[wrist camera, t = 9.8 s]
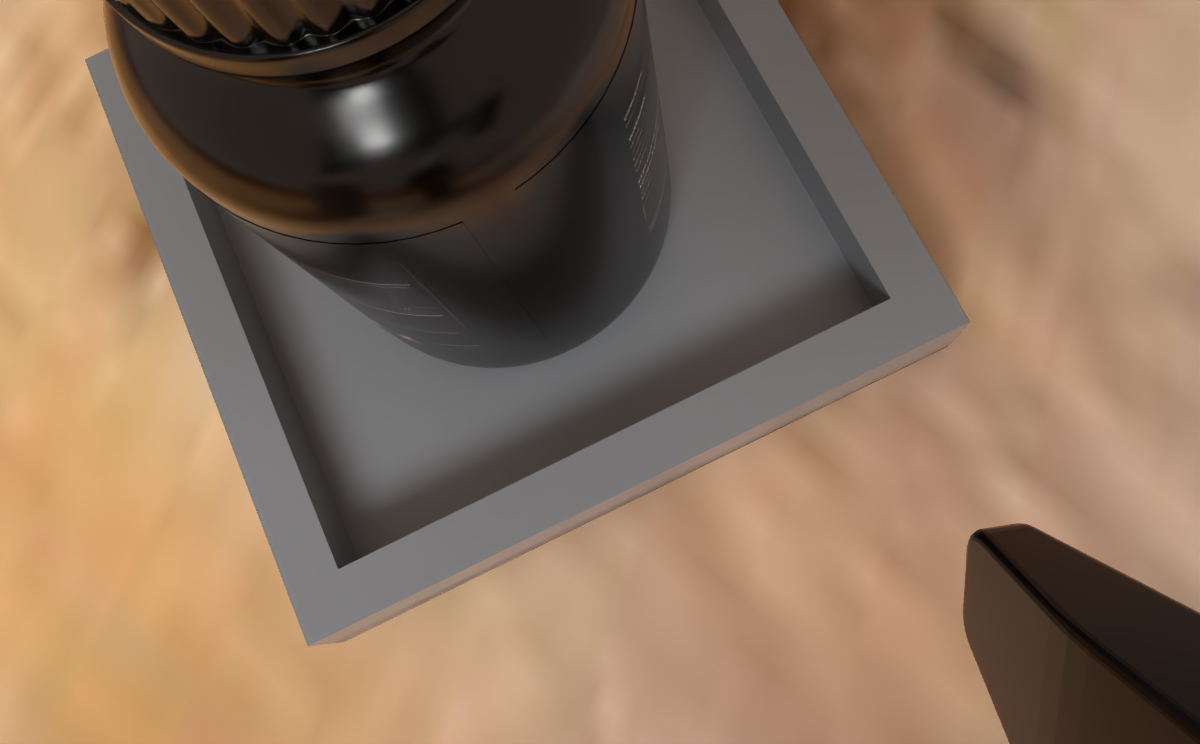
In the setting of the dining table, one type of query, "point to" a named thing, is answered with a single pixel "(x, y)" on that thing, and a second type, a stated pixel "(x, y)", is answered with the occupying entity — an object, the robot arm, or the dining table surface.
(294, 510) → the tray
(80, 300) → the dining table surface
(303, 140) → the supplement bottle
